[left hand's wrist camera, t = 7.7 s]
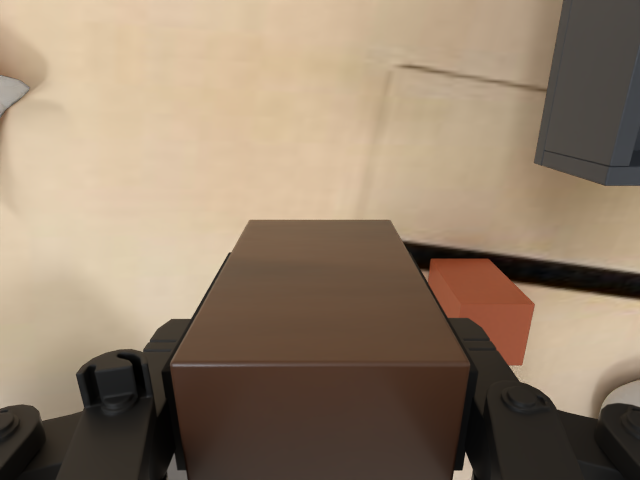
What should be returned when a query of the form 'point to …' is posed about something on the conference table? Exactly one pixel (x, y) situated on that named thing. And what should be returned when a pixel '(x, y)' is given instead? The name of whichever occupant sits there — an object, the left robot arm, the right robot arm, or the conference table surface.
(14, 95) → the fish
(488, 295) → the terracotta block
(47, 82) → the conference table surface
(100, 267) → the conference table surface
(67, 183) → the conference table surface
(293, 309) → the walnut block
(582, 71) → the box
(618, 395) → the projector
